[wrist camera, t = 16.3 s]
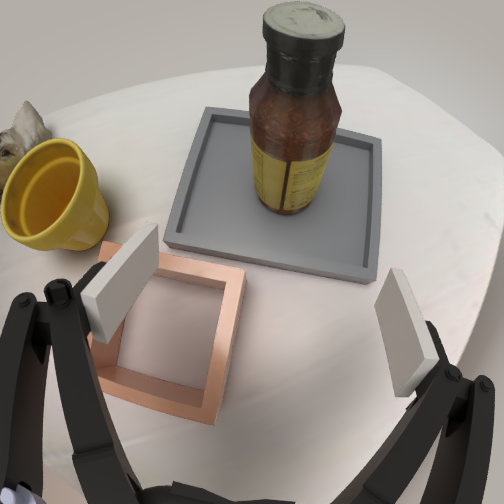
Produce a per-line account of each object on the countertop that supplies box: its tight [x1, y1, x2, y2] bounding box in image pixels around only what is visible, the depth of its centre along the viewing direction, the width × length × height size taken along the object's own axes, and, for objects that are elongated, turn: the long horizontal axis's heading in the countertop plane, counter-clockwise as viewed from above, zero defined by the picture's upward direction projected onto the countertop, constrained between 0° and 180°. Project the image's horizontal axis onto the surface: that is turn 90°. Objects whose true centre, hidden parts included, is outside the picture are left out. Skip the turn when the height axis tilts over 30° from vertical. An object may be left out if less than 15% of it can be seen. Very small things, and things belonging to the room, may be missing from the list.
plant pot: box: [1, 138, 109, 251], centre depth 26 cm, size 10×10×10 cm
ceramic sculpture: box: [0, 101, 51, 195], centre depth 29 cm, size 11×9×15 cm
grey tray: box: [163, 107, 382, 284], centre depth 30 cm, size 20×16×2 cm
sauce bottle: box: [249, 1, 345, 215], centre depth 21 cm, size 7×6×20 cm
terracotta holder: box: [87, 241, 247, 426], centre depth 25 cm, size 12×12×6 cm
